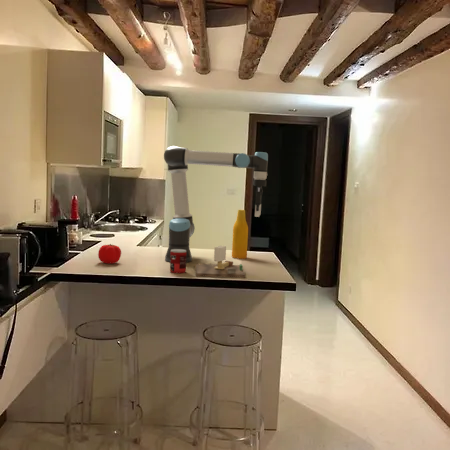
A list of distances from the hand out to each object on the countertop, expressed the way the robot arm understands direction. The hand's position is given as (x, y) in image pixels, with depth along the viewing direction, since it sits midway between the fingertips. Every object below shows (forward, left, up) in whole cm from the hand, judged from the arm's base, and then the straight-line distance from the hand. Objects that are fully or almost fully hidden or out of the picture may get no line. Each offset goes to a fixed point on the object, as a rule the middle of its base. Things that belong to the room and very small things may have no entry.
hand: (257, 215), depth 274 cm
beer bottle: (-9, +9, -27) cm, 29 cm away
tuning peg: (-21, -32, -25) cm, 46 cm away
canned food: (-44, -38, -27) cm, 64 cm away
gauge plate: (-23, -35, -27) cm, 50 cm away
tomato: (-81, -21, -27) cm, 88 cm away
